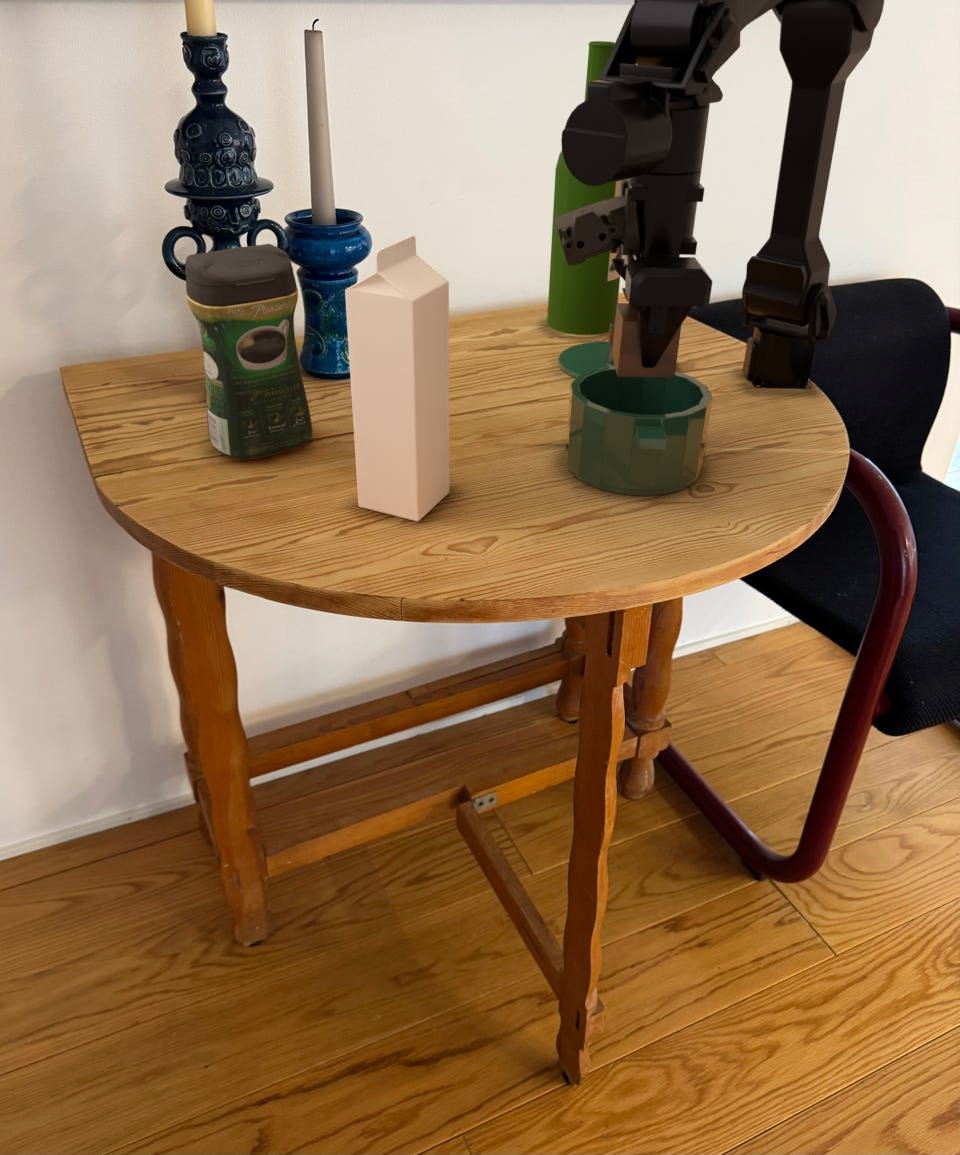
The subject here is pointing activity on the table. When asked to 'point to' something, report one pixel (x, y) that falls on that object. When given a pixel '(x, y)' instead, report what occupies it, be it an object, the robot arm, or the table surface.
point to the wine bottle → (592, 286)
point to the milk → (400, 383)
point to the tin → (636, 431)
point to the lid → (588, 356)
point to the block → (638, 348)
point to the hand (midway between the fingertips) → (644, 356)
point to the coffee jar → (249, 350)
